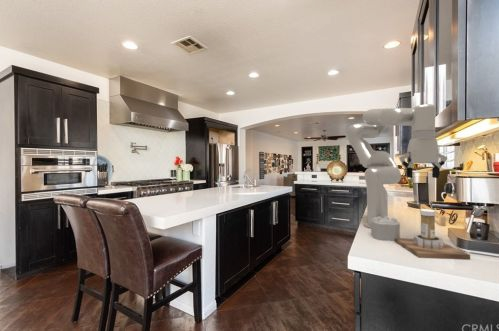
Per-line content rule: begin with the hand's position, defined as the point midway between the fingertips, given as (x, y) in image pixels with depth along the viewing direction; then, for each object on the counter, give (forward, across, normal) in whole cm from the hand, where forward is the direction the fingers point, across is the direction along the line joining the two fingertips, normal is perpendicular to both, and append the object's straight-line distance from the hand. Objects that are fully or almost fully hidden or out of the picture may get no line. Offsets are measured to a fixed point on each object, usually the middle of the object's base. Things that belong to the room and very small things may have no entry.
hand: (422, 177), depth 98 cm
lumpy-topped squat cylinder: (+28, +11, -7) cm, 31 cm away
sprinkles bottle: (+25, +2, +9) cm, 27 cm away
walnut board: (+27, +2, +9) cm, 28 cm away
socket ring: (+25, +2, +9) cm, 27 cm away
